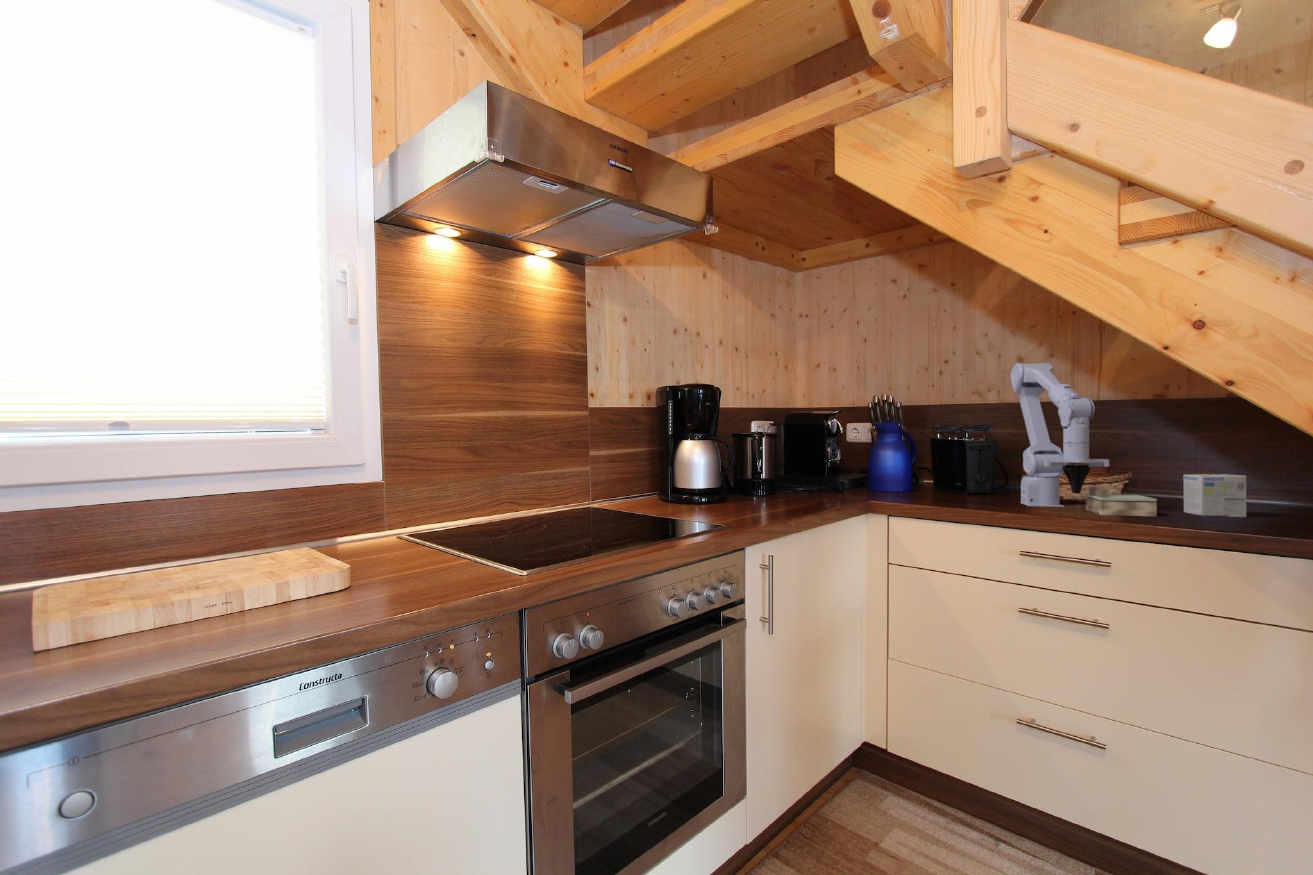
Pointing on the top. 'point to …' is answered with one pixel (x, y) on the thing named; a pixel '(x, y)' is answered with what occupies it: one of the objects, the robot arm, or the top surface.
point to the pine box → (1121, 507)
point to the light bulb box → (1215, 494)
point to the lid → (1115, 496)
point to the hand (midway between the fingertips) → (1076, 493)
